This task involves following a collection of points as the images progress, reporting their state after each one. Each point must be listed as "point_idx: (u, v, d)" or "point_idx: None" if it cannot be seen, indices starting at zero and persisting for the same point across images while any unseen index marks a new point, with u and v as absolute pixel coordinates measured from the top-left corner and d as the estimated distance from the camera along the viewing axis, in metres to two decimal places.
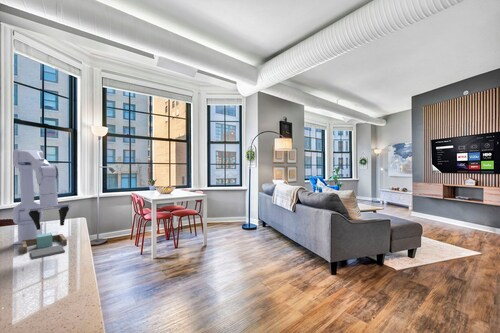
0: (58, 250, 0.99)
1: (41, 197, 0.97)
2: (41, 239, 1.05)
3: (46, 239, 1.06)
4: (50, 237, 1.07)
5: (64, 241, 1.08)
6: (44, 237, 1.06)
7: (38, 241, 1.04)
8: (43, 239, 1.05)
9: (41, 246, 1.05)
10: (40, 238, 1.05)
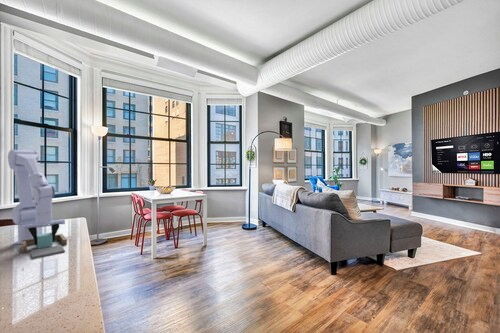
0: (58, 250, 0.99)
1: (36, 216, 1.05)
2: (41, 239, 1.05)
3: (46, 239, 1.06)
4: (50, 236, 1.07)
5: (64, 241, 1.08)
6: (44, 237, 1.06)
7: (38, 241, 1.04)
8: (43, 239, 1.05)
9: (41, 246, 1.05)
10: (40, 238, 1.05)
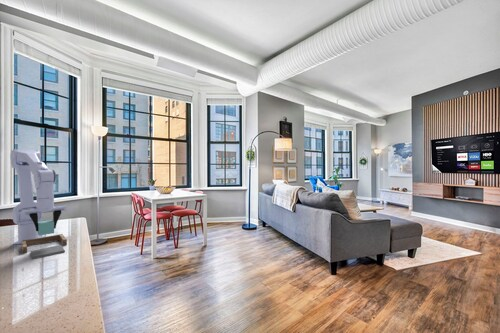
0: (58, 250, 0.99)
1: (37, 201, 1.00)
2: (42, 225, 1.00)
3: (47, 226, 1.02)
4: (52, 223, 1.03)
5: (64, 241, 1.08)
6: (45, 223, 1.01)
7: (39, 227, 1.00)
8: (44, 225, 1.01)
9: (42, 233, 1.00)
10: (41, 224, 1.00)
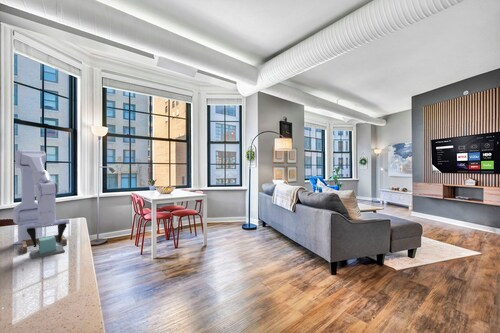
0: (58, 250, 0.99)
1: (39, 215, 0.96)
2: (44, 243, 0.97)
3: (49, 243, 0.98)
4: (54, 240, 0.99)
5: (64, 241, 1.08)
6: (47, 241, 0.97)
7: (40, 245, 0.96)
8: (46, 243, 0.97)
9: (44, 250, 0.97)
10: (43, 242, 0.96)
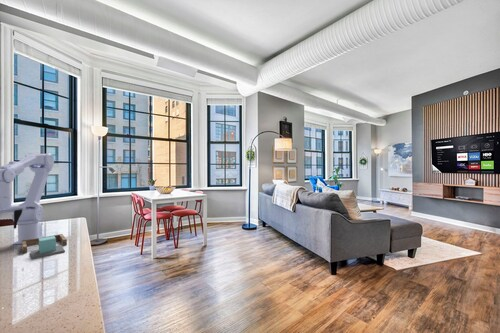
0: (58, 250, 0.99)
1: None
2: (44, 243, 0.97)
3: (49, 243, 0.98)
4: (54, 240, 0.99)
5: (64, 241, 1.08)
6: (47, 241, 0.97)
7: (40, 245, 0.96)
8: (46, 243, 0.97)
9: (44, 250, 0.97)
10: (43, 242, 0.96)
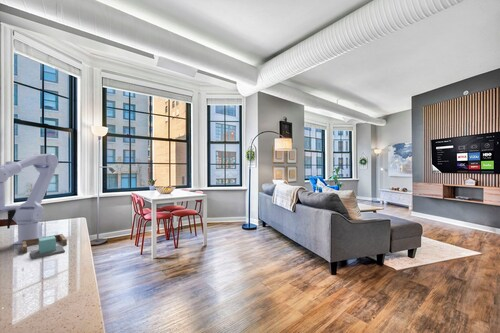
0: (58, 250, 0.99)
1: None
2: (44, 243, 0.97)
3: (49, 243, 0.98)
4: (54, 240, 0.99)
5: (64, 241, 1.08)
6: (47, 241, 0.97)
7: (40, 245, 0.96)
8: (46, 243, 0.97)
9: (44, 250, 0.97)
10: (43, 242, 0.96)
